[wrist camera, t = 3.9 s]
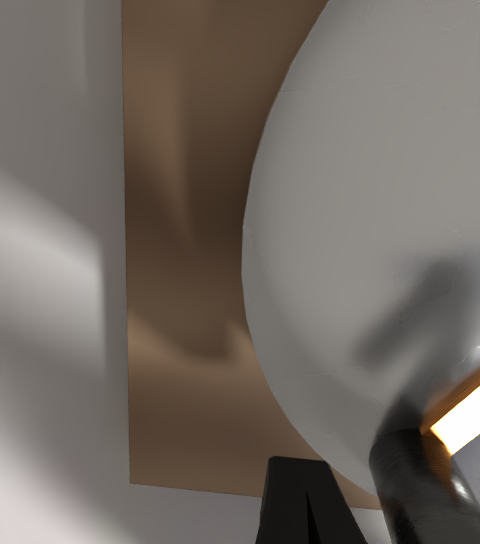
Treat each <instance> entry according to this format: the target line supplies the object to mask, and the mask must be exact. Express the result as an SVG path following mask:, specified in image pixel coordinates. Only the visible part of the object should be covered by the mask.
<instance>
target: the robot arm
mask: <svg viewBox="0 0 480 544" xmlns="http://www.w3.org/2000/svg"><path fill="white" fill-rule="evenodd" d="M255 544H368V543H367V542H366V540H365V538H364V536H363V534H362V532H361V530H360V529H359V527H358V525H357V523H356V521H355V519H354V517H353V515H352V513H351V511H350V509H349V507H348V505H347V503H346V501H345V499H344V496H343V494H342V492H341V490H340V488H339V486H338V484H337V481H336V479H335V477H334V475H333V472H332V470H331V468H330V465H329V464H328V463H327V462H326V461H322V460H312V459H302V458H293V457H283V456H272V457H271V458H269V459H268V466H267V472H266V479H265V485H264V492H263V498H262V505H261V511H260V526H259V530H258V534H257V538H256V542H255Z"/></svg>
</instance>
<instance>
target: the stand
mask: <svg viewBox="0 0 480 544" xmlns="http://www.w3.org/2000/svg"><path fill="white" fill-rule="evenodd" d="M328 1H329V0H122V55H123V112H124V169H125V226H126V282H127V339H128V396H129V453H130V483H132V484H141V485H151V486H160V487H169V488H179V489H188V490H197V491H207V492H216V493H226V494H235V495H244V496H254V497H263V492H264V485H265V479H266V472H267V466H268V459H269V458H271V457H272V456H283V457H293V458H302V459H312V460H322V461H325V460H324V459H323V458H322V457H321V456H320V455H319V454H317V453H316V452H315V451H314V450H313V449H312V448H311V446H310V445H309V444H308V443H307V442H306V440H305V439H304V438H303V437H302V436H301V435H300V433H299V432H298V431H297V430H296V429H295V427H294V426H293V425H292V424H291V422H290V421H289V419H288V418H287V416H286V414H285V413H284V411H283V410H282V408H281V406H280V405H279V403H278V402H277V400H276V398H275V397H274V395H273V394H272V392H271V389H270V387H269V385H268V382H267V380H266V378H265V376H264V373H263V371H262V369H261V366H260V364H259V362H258V359H257V357H256V353H255V349H254V345H253V342H252V338H251V334H250V330H249V327H248V323H247V319H246V311H245V302H244V293H243V285H242V276H241V270H242V236H243V222H244V215H245V208H246V201H247V195H248V189H249V183H250V177H251V171H252V165H253V161H254V157H255V154H256V151H257V147H258V144H259V141H260V137H261V134H262V131H263V127H264V124H265V121H266V117H267V114H268V112H269V110H270V108H271V105H272V103H273V101H274V99H275V96H276V94H277V92H278V89H279V87H280V85H281V83H282V80H283V78H284V76H285V74H286V71H287V69H288V67H289V65H290V63H291V62H292V60H293V58H294V57H295V55H296V53H297V52H298V50H299V48H300V46H301V45H302V43H303V41H304V40H305V38H306V36H307V35H308V33H309V31H310V29H311V28H312V26H313V24H314V23H315V21H316V19H317V18H318V16H319V15H320V13H321V12H322V10H323V9H324V7H325V6H326V4H327V3H328ZM327 463H328V462H327ZM328 464H329V463H328ZM329 465H330V464H329ZM330 468H331V470H332V472H333V475H334V477H335V479H336V481H337V484H338V486H339V488H340V490H341V492H342V494H343V496H344V499H345V501H346V503H347V505H348V507H357V508H366V509H376V510H382V508H381V505H380V501H379V498H378V497H376V496H374V495H372V494H370V493H368V492H366V491H365V490H363V489H362V488H361V487H359V486H358V485H356V484H355V483H353V482H352V481H350V480H349V479H347V478H346V477H344V476H343V475H341V474H340V473H339V472H338V471H336V470H335V469H334V468H333V467H332V466H331V465H330Z"/></svg>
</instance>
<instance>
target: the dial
mask: <svg viewBox="0 0 480 544" xmlns="http://www.w3.org/2000/svg"><path fill="white" fill-rule="evenodd" d="M241 276H242V285H243V293H244V302H245V311H246V319H247V323H248V327H249V330H250V334H251V338H252V342H253V345H254V349H255V353H256V357H257V359H258V362H259V364H260V366H261V369H262V371H263V373H264V376H265V378H266V380H267V382H268V385H269V387H270V389H271V392H272V394H273V395H274V397H275V398H276V400H277V402H278V403H279V405H280V406H281V408H282V410H283V411H284V413H285V414H286V416H287V418H288V419H289V421H290V422H291V424H292V425H293V426H294V427H295V429H296V430H297V431H298V432H299V433H300V435H301V436H302V437H303V438H304V439H305V440H306V442H307V443H308V444H309V445H310V446H311V448H312V449H313V450H314V451H315V452H316V453H317V454H319V455H320V456H321V457H322V458H323V459H324V460H325V461H326V462H328V463H329V464H330V465H331V466H332V467H333V468H334V469H335V470H336V471H338V472H339V473H340V474H341V475H343V476H344V477H346V478H347V479H349V480H350V481H352V482H353V483H355V484H356V485H358V486H359V487H361V488H362V489H363V490H365V491H366V492H368V493H370V494H372V495H374V496H376V497H378V498H379V501H380V505H381V508H382V511H383V515H384V518H385V522H386V525H387V528H388V532H389V535H390V538H391V542H392V544H480V0H329V1H328V3H327V4H326V6H325V7H324V9H323V10H322V12H321V13H320V15H319V16H318V18H317V19H316V21H315V23H314V24H313V26H312V28H311V29H310V31H309V33H308V35H307V36H306V38H305V40H304V41H303V43H302V45H301V46H300V48H299V50H298V52H297V53H296V55H295V57H294V58H293V60H292V62H291V63H290V65H289V67H288V69H287V71H286V74H285V76H284V78H283V80H282V83H281V85H280V87H279V89H278V92H277V94H276V96H275V99H274V101H273V103H272V105H271V108H270V110H269V112H268V114H267V117H266V121H265V124H264V127H263V131H262V134H261V137H260V141H259V144H258V147H257V151H256V154H255V157H254V161H253V165H252V171H251V177H250V183H249V189H248V195H247V201H246V208H245V215H244V222H243V236H242V270H241Z"/></svg>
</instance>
